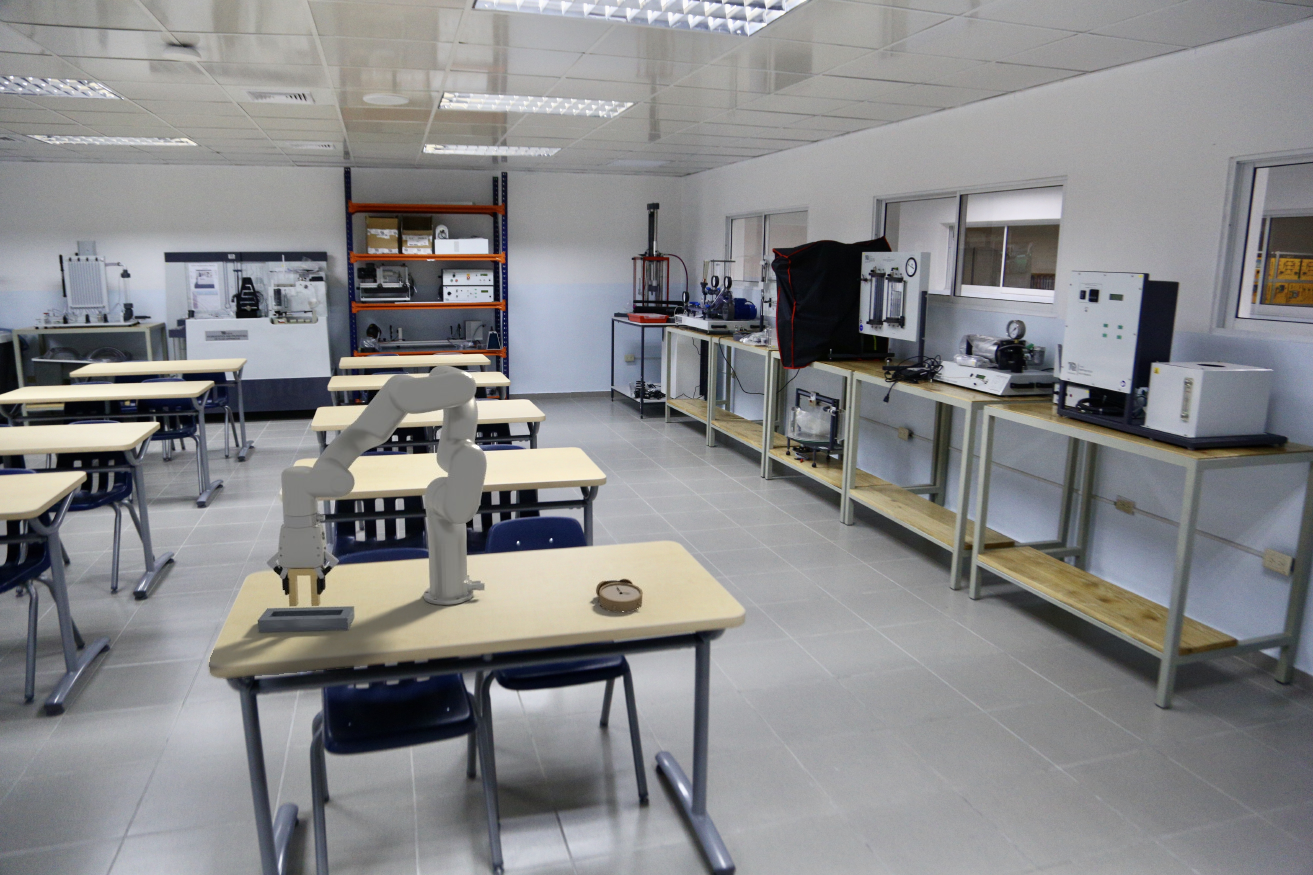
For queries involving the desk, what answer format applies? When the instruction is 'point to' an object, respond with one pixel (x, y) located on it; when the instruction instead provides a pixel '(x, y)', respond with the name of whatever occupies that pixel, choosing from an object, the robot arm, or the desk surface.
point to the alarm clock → (619, 595)
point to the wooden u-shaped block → (294, 585)
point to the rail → (306, 619)
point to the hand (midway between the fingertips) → (304, 592)
